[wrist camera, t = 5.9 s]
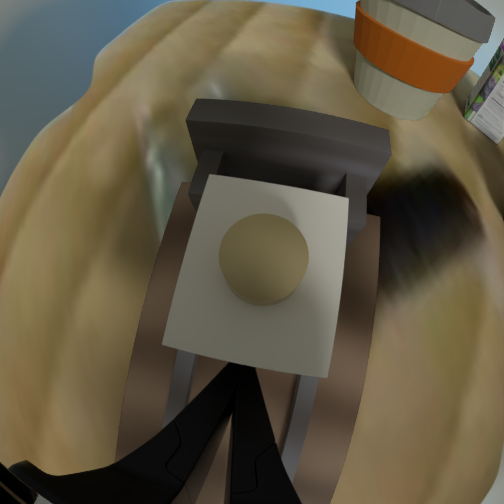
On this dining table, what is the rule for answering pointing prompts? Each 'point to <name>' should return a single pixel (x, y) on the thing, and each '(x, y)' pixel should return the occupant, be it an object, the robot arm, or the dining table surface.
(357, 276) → the brown board with frame
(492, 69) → the syrup box
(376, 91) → the reusable coffee cup
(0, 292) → the dining table surface
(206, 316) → the white block with knob
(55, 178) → the dining table surface
